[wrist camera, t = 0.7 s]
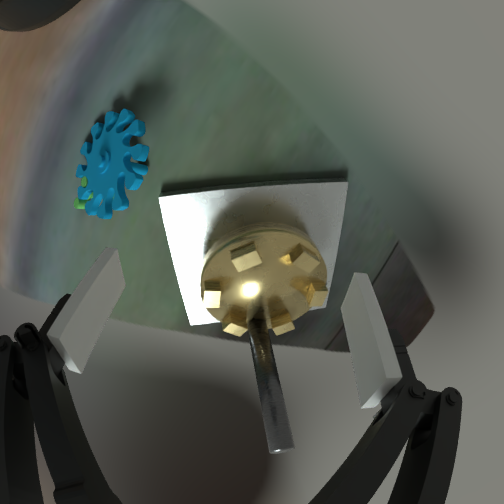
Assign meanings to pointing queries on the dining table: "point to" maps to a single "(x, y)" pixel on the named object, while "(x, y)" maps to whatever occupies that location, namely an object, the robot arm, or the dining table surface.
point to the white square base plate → (244, 213)
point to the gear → (111, 165)
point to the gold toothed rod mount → (264, 301)
